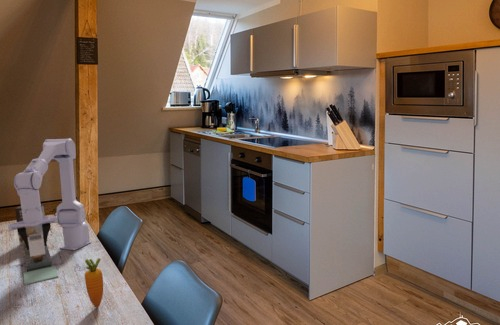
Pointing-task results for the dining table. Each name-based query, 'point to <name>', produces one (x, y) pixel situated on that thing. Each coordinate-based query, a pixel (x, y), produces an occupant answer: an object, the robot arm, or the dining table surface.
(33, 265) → the hand plane
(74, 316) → the dining table surface
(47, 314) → the dining table surface
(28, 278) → the mat
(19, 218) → the coffee box
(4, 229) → the dining table surface
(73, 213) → the robot arm
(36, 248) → the lever cap
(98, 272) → the carrot
